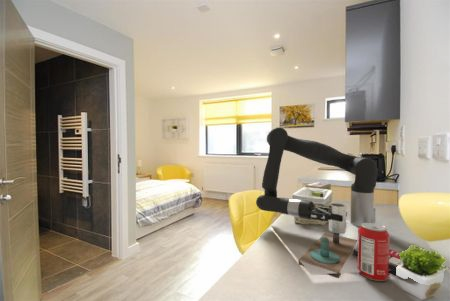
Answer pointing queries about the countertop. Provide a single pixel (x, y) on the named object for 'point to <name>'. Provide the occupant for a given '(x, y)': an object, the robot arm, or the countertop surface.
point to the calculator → (393, 260)
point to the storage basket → (318, 201)
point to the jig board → (329, 252)
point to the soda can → (373, 251)
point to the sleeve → (337, 225)
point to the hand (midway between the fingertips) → (344, 216)
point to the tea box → (319, 187)
